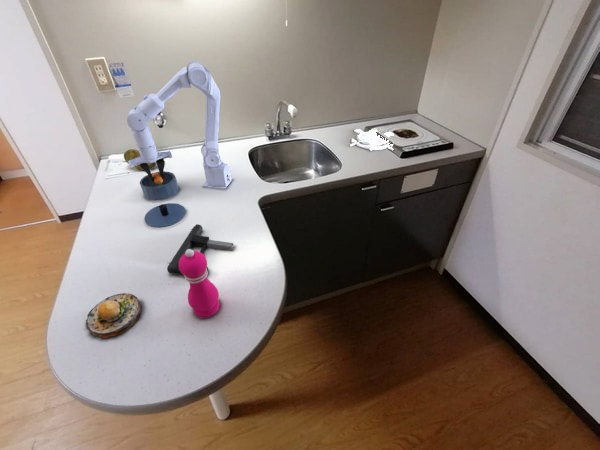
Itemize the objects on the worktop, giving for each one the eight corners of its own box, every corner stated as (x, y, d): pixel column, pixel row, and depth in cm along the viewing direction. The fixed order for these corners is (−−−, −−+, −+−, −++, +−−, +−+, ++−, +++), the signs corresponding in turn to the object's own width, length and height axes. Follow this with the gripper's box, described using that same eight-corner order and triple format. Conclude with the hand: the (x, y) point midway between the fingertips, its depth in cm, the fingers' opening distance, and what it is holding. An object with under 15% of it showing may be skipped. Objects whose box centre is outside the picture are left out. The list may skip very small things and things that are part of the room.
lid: (192, 207, 112) (190, 197, 109) (173, 231, 101) (169, 220, 99) (159, 203, 114) (155, 193, 111) (137, 226, 104) (132, 215, 101)
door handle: (238, 229, 98) (190, 222, 99) (216, 275, 83) (160, 267, 84) (239, 236, 100) (192, 230, 102) (218, 283, 85) (163, 275, 86)
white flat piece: (348, 148, 151) (348, 146, 150) (354, 128, 172) (355, 125, 171) (393, 153, 146) (393, 150, 146) (393, 131, 168) (394, 129, 167)
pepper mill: (195, 297, 80) (175, 240, 68) (223, 295, 81) (208, 238, 68) (189, 321, 74) (167, 263, 62) (219, 318, 75) (203, 261, 62)
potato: (144, 175, 131) (137, 158, 126) (124, 168, 136) (118, 151, 131) (159, 167, 137) (154, 150, 132) (140, 160, 142) (134, 144, 137)
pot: (184, 186, 124) (181, 173, 120) (168, 203, 114) (163, 189, 110) (156, 183, 126) (152, 169, 122) (138, 199, 116) (132, 186, 112)
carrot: (152, 179, 119) (150, 172, 117) (160, 177, 120) (158, 170, 118) (157, 188, 114) (154, 181, 112) (165, 186, 115) (163, 179, 113)
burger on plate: (147, 295, 81) (137, 276, 76) (133, 335, 71) (122, 316, 67) (99, 300, 80) (86, 280, 75) (79, 341, 70) (63, 322, 66)
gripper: (125, 154, 102) (139, 189, 110) (170, 144, 108) (179, 178, 117) (122, 147, 107) (135, 180, 115) (164, 137, 113) (174, 170, 121)
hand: (157, 178), depth 116 cm, fingers closed on carrot, 3 cm apart
